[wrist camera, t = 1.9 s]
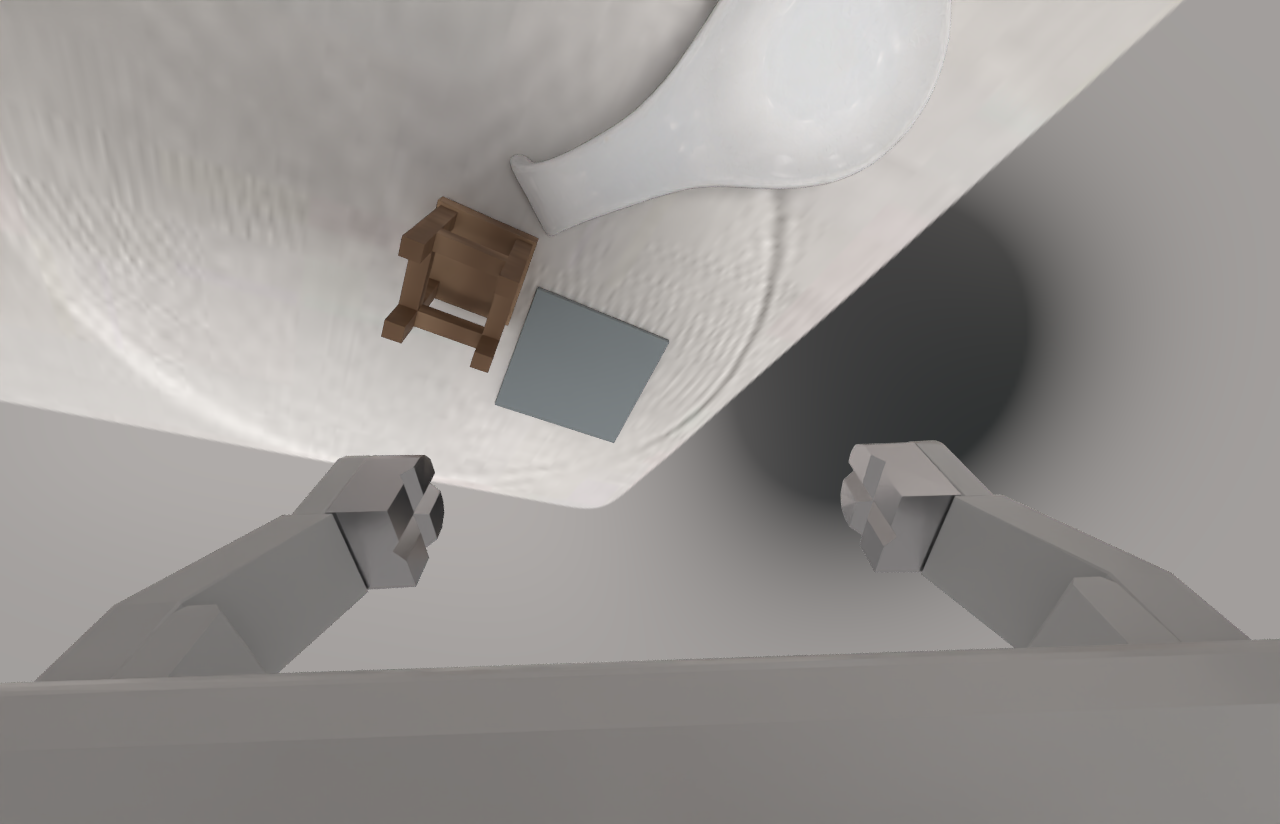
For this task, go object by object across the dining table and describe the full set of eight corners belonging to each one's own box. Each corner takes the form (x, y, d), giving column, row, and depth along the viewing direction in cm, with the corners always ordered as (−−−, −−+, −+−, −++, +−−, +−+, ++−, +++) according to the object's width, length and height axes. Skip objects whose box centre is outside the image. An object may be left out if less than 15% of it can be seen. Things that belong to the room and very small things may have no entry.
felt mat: (495, 401, 37) (494, 404, 37) (538, 286, 33) (537, 288, 32) (613, 440, 40) (613, 442, 40) (668, 340, 36) (669, 342, 35)
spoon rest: (904, -147, 23) (1013, -228, 17) (925, 118, 29) (1010, 127, 23) (476, 98, 27) (444, 101, 21) (577, 284, 33) (574, 328, 27)
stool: (421, 284, 32) (376, 338, 25) (443, 196, 29) (398, 229, 22) (510, 318, 34) (490, 377, 27) (538, 238, 31) (524, 281, 24)
